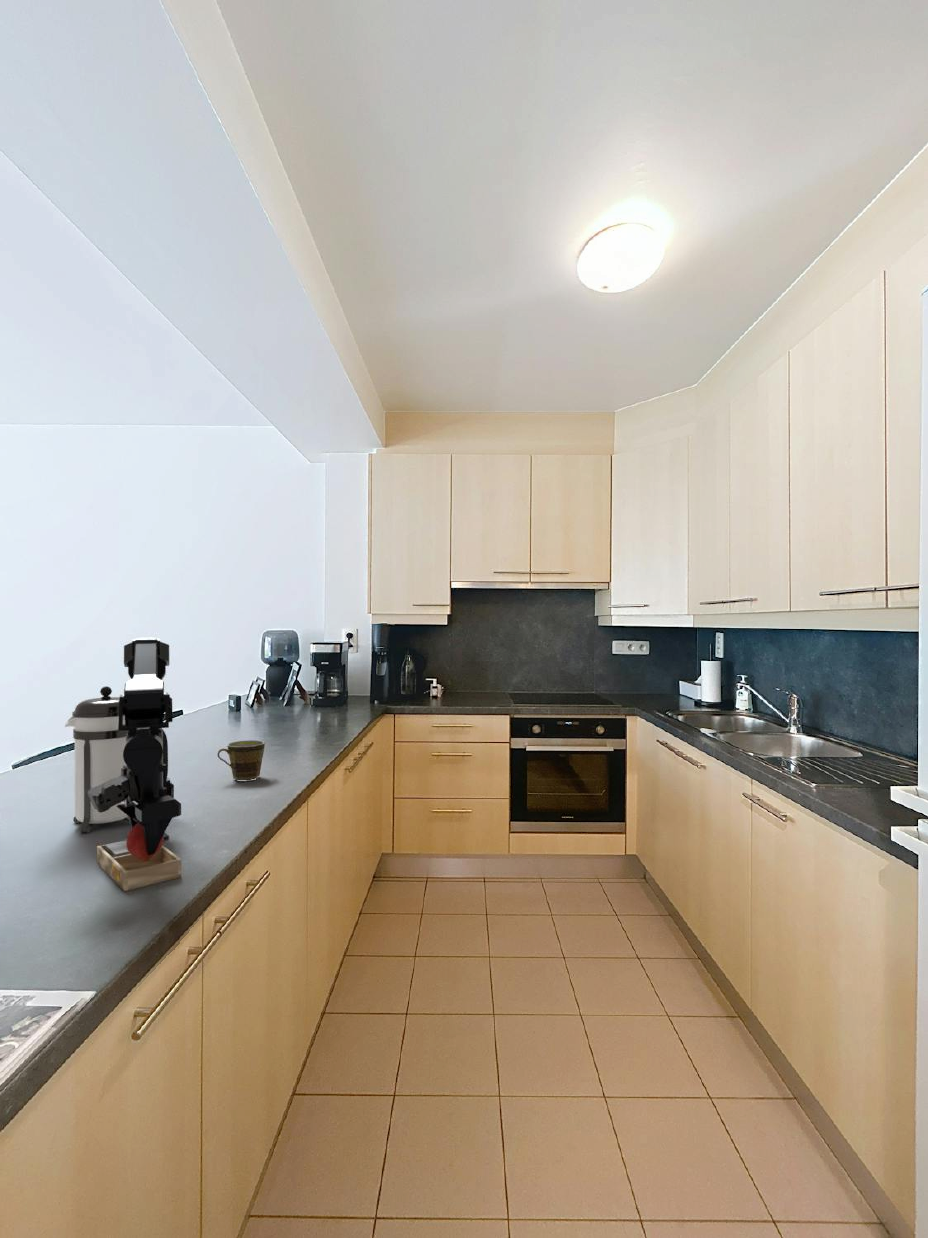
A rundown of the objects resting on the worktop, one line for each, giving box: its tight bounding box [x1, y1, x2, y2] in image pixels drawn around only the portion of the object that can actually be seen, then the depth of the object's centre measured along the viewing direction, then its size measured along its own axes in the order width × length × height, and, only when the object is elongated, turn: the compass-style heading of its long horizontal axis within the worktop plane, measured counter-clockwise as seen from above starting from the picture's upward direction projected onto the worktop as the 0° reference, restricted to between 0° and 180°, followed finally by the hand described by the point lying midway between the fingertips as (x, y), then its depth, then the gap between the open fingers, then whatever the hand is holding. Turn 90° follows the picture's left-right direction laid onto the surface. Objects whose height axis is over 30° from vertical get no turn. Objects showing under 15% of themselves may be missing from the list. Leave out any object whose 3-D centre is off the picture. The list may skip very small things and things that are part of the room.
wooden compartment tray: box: [96, 839, 182, 892], centre depth 116 cm, size 18×9×3 cm, turn 42°
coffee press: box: [64, 686, 169, 834], centre depth 145 cm, size 17×16×30 cm
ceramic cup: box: [216, 739, 266, 780], centre depth 183 cm, size 13×10×10 cm
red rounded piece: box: [126, 823, 165, 862], centre depth 113 cm, size 6×6×8 cm
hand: (145, 850), depth 113 cm, fingers closed on red rounded piece, 6 cm apart
